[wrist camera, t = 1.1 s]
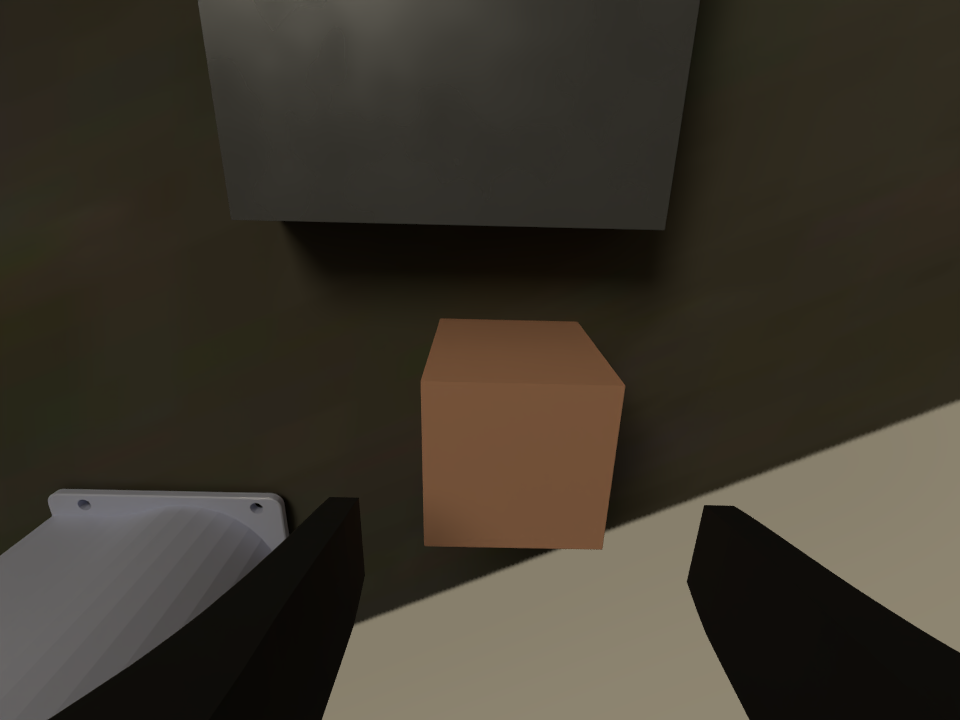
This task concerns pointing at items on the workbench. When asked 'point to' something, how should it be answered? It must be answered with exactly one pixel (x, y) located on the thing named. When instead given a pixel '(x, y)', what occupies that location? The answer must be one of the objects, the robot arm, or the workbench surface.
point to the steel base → (450, 109)
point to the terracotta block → (517, 435)
